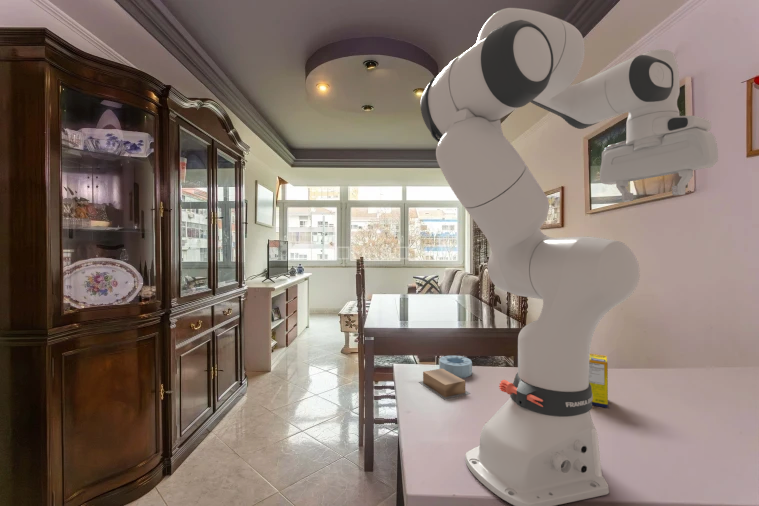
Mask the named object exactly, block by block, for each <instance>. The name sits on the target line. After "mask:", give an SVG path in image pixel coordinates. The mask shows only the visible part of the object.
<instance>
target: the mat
mask: <svg viewBox="0 0 759 506" xmlns="http://www.w3.org/2000/svg"><path fill="white" fill-rule="evenodd" d="M418 383H419V384H420V385H422V386H423V387H425V388H426V389H428V390H429V391H431V392H432V393H434V394H435V395H437V396H438V397H440V398H441V399H443V400H449V399H454V398H460V397H462V396H467V395H471V393H470V392H469V391H467V390H465V393H462V394H458V395H453V396H449V397H444V396H443V395H441V394H439V393H438V392H436V391H435V390H433V389H432V388H430V387H429V386H427V385H426V384H424V383H423V380H422V381H418Z"/></svg>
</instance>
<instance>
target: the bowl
mask: <svg viewBox="0 0 759 506" xmlns="http://www.w3.org/2000/svg"><path fill="white" fill-rule="evenodd" d="M438 360H439V361H438V362H439V363H438V364H439V366H438V369H444V370H446V371H448V372H450V373H452V374H453V375H455V376H457V377H459V378H461V379H464V378H469V377H470V376H472V375H473V362H472V359H470V358H468V357H466V356H460V355H444V356H441V357H440V358H439V359H438Z"/></svg>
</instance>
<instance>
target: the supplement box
mask: <svg viewBox="0 0 759 506" xmlns="http://www.w3.org/2000/svg"><path fill="white" fill-rule="evenodd" d="M608 367H609V366H608V356H607V355H604V354H598V353H597V354H596V353H590V358H589V384H590V385H591V387H592V394H593V400H592V406H597V407H603V408H606V409H608V408H609V390H608V389H609V388H608V387H609V385H608V384H609V383H608V382H609V379H608V378H609V375H608V374H609V373H608V372H609V371H608V369H609V368H608Z"/></svg>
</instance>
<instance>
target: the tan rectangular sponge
mask: <svg viewBox="0 0 759 506" xmlns="http://www.w3.org/2000/svg"><path fill="white" fill-rule="evenodd" d="M422 381H423V383H424V384H426V385H427V386H429V387H430V388H432V389H433V390H435V391H436V392H438V393H439V394H441V395H443V396H444V397H449V396H453V395H458V394H462V393H465V391H466V380H465V379H464V378H459V377H457V376H455V375H453V374H452V373H450V372H448V371H446V370H444V369H439V368H438V369H437V368H436V369H432V370H431V369H430V370H426V371H425V370H424V371H423V372H422Z"/></svg>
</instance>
